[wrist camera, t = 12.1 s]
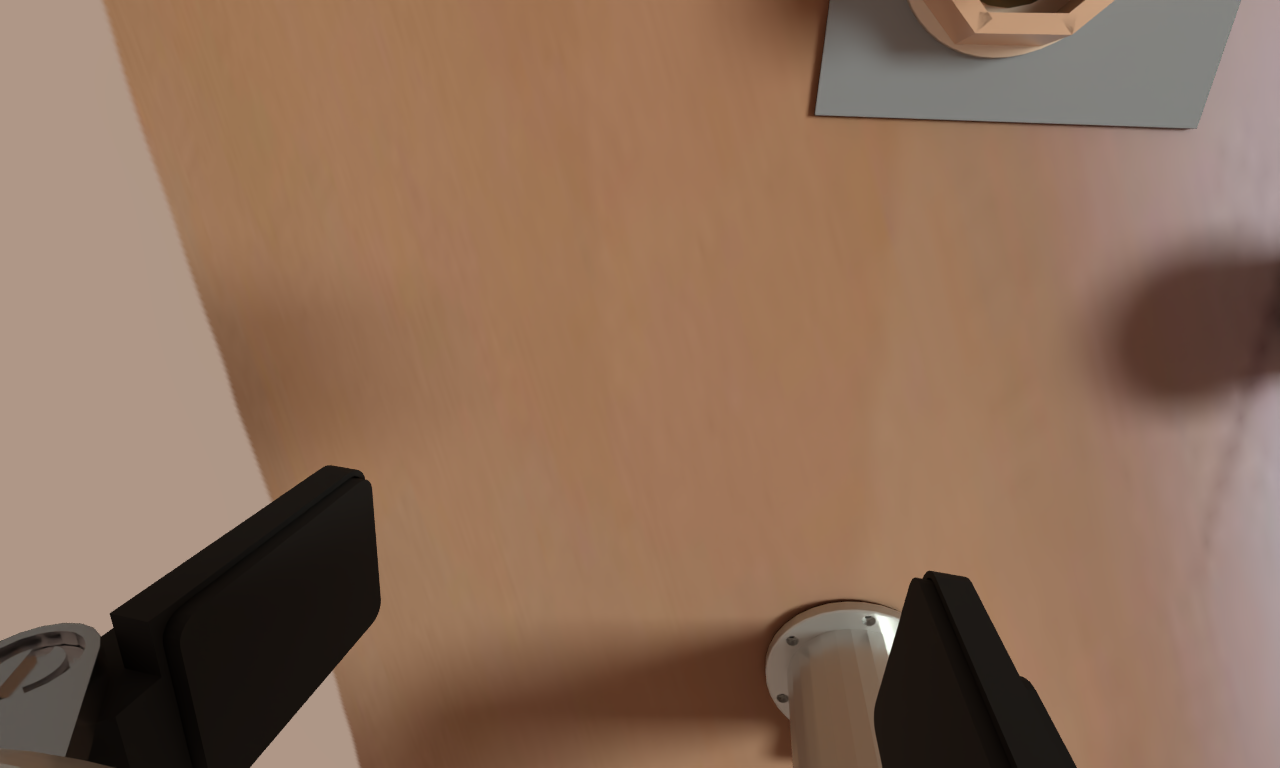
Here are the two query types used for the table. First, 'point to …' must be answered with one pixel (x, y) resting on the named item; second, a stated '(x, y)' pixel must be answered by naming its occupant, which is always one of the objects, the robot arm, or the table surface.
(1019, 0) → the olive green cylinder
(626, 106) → the table surface
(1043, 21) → the peach octagonal bowl
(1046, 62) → the felt mat
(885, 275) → the table surface
